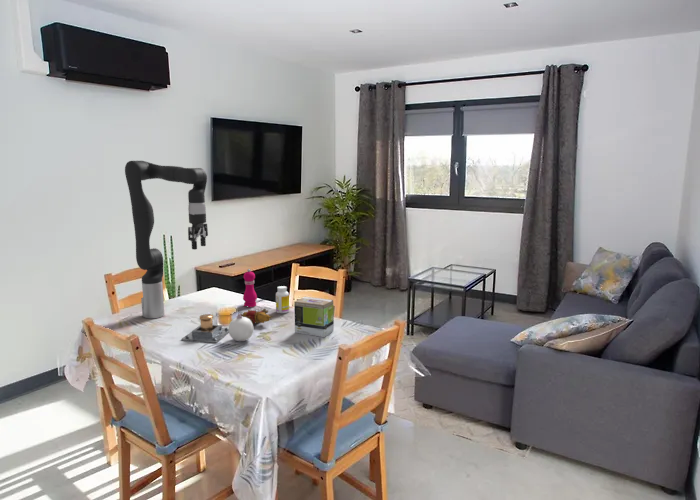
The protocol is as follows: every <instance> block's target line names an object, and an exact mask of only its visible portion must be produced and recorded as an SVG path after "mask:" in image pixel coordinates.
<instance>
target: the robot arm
mask: <svg viewBox="0 0 700 500" xmlns="http://www.w3.org/2000/svg"><path fill="white" fill-rule="evenodd" d="M124 176H125V180H126V184H127V187H128V191H129V196H130V197H129V198H130V204H131V212H132V221H133V227H134V236H135V259H136V264H137V266H138V267H139V268H140V269H141V270H144V271H145V273H144V274H143V275H142V277H141V287H142V288H141V289H142V297H141V300H140V301H141V312H142V313H141V314H142V315H141V316H142V318H145V319H158V318H159V319H160V318H162V317H164V316H165V303H164V302H165V301H164V289H163V288H164V287H163V277H164V256H163V254H162V252H161V250H160V249H158V248H155V247H154V248H151V246H150V245H151V244H150V243H151V242H150V239H151V234H152V232H153V229H154V225H155V215H154V209H153V206H152V203H151V202H150V200H149V199H148V198H147V196H146V195H145V192H144V188H143V183H142V181H146V180H156V179H160V180H164V181H168V182H174V183H182V184H186V185H187V184H188V185H192V189H189V191H188V193H187V194H188V195H187V197H188V198H187V199H188V205H187V206H188V208H187V209H188V210H187V211H188V223H189V224H191V226H188V227H187V234H188V235H187V238H188V239H187V240H188V241H190V242H191V249H192V250H198V238H199V237H200V247H206V245H207V244H206V243H207V242H206V241H207V240H206V238H207V237H208V236H209V230H208V223H207V209H206V203H205V202H206V199H205V193H206V188H207V183H208V174H207V173H206V170H205V169H203V168H201V167H196V168H195V167H183V166H178V165H177V166H176V165H160V164H155V163H151V162H149V161H144V160H129V161H127V162H126V164H125V167H124Z"/></svg>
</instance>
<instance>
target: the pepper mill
mask: <svg viewBox="0 0 700 500" xmlns="http://www.w3.org/2000/svg"><path fill="white" fill-rule="evenodd" d="M246 270H247V271H246V272H244V274H243V279H244V284H245V290H244V293H243V295H242V299H243V301H244V303H243V305H244V306H243V307H245V306H248V307H247V308H254V306H255V307H256V306H257V299H258V295H257V292H256V291H255V288H254V287H255V285H254V284H255V279H256V274H255V273H254V271H252V270H251V269H250V268H248V269H246Z"/></svg>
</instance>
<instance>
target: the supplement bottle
mask: <svg viewBox="0 0 700 500" xmlns="http://www.w3.org/2000/svg"><path fill="white" fill-rule="evenodd" d="M287 289H288V287H287V286H285V285H283V286H282V285H281V286H280V285H279V286H277V292H275V310H276V312H275V313H277V314H287V313H289V311H290V294H289V292H288V291H287Z"/></svg>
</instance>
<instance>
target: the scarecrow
mask: <svg viewBox="0 0 700 500" xmlns="http://www.w3.org/2000/svg"><path fill="white" fill-rule="evenodd" d="M268 313H269V311H268V309H266V308H263V309H262V308H261V309H260V310H259V308H258V309H257V310H251V309H247V311H243V313H240V314H241V316H242V317H246V318H248V319H250V320H251V322H252V324H253V325H255V323H256V324H260V323H262V324H264V323H266V322H269V321H270V320H271V318H272V317H273V315H272V316H271V315H269V314H268ZM239 317H240V316H239Z"/></svg>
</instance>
